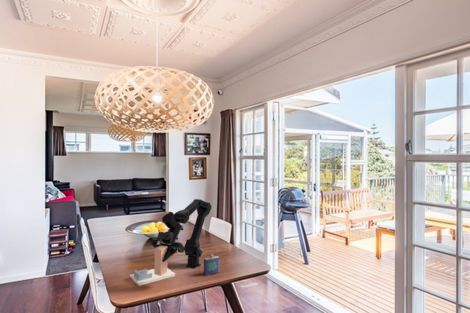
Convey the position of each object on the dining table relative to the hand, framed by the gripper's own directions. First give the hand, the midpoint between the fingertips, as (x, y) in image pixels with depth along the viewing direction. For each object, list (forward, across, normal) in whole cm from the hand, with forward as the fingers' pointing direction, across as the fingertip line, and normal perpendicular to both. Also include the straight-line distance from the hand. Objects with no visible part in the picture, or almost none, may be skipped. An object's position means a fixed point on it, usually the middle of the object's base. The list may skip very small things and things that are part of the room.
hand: (159, 260), depth 145 cm
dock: (+3, -12, +16) cm, 20 cm away
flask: (-9, +15, +28) cm, 33 cm away
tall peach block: (+4, 0, +6) cm, 7 cm away
